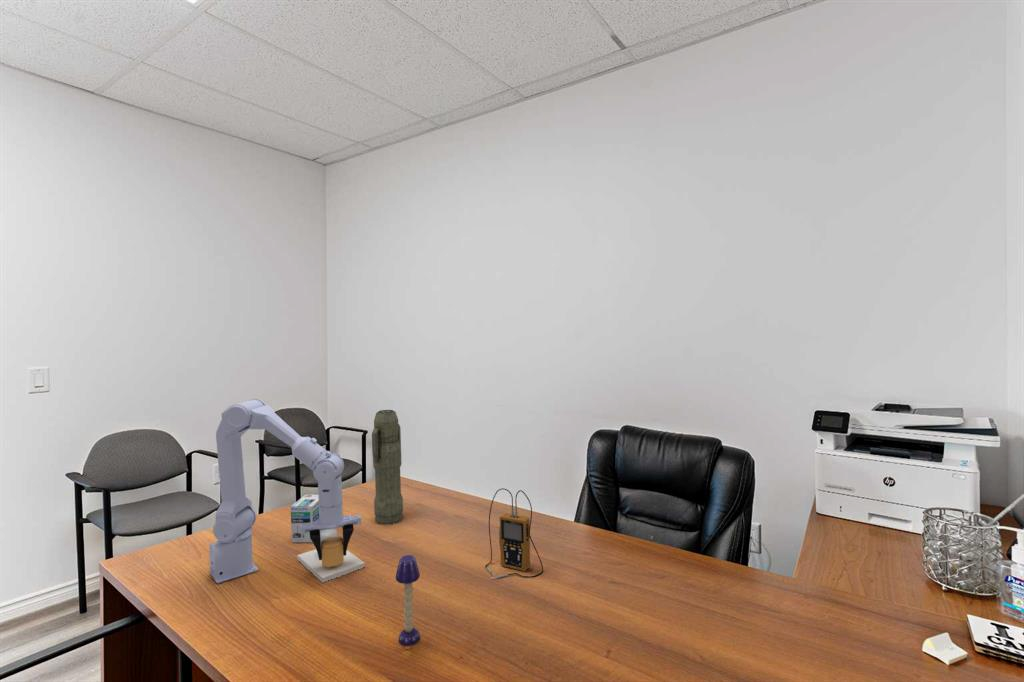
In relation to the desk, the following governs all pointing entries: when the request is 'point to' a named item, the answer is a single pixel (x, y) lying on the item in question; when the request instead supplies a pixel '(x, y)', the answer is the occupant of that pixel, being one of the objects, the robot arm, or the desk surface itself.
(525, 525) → the multimeter
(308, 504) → the light bulb box
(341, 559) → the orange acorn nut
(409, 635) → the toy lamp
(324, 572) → the plate
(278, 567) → the desk surface
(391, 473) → the thermos
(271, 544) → the desk surface
